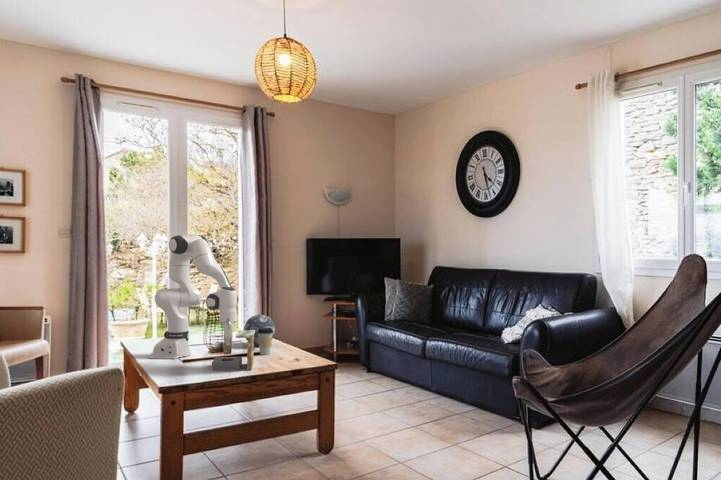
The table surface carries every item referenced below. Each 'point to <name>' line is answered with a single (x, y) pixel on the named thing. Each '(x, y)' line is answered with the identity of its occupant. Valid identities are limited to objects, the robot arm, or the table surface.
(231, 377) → the table surface
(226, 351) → the beech peg
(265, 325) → the decorative ball
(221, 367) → the socket
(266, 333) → the coffee cup
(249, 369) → the awning
